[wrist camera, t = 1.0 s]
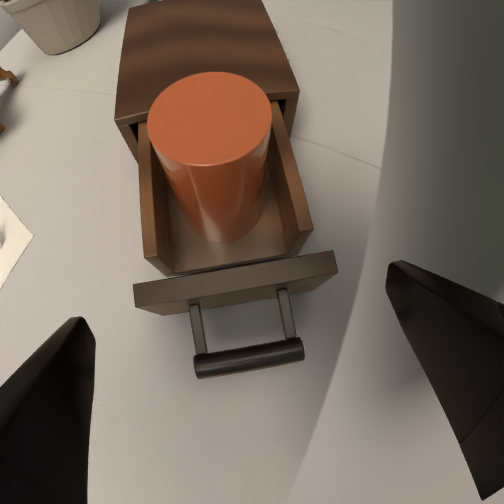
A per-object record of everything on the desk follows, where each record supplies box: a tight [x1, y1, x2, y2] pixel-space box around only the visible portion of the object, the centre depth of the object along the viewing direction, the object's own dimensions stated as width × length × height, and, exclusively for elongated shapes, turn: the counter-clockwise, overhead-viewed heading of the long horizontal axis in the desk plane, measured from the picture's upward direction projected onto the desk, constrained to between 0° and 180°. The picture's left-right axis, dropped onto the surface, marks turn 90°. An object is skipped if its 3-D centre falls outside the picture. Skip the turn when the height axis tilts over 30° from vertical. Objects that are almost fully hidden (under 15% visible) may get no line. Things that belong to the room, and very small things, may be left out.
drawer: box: [133, 100, 338, 379], centre depth 20 cm, size 18×10×6 cm, turn 10°
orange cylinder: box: [147, 72, 272, 243], centre depth 17 cm, size 5×5×10 cm
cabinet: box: [114, 0, 300, 165], centre depth 23 cm, size 15×12×8 cm
